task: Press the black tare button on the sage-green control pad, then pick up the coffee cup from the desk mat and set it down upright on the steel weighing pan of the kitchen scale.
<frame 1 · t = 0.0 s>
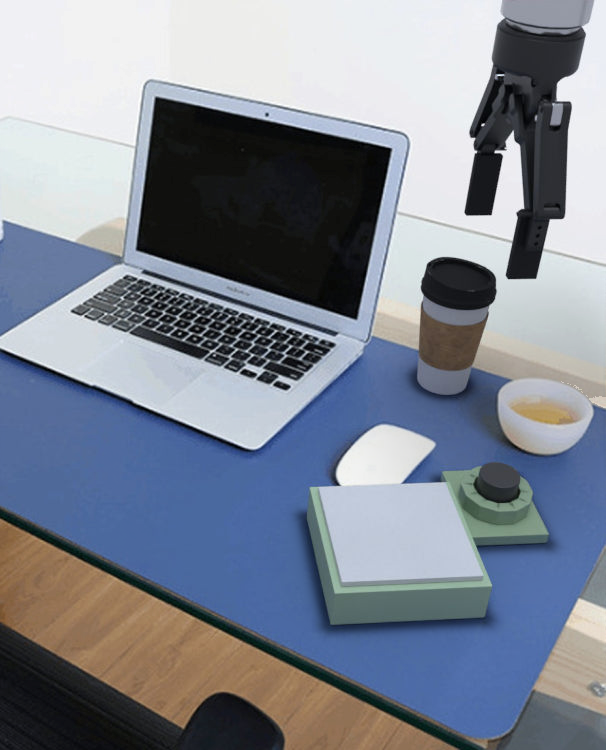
hand: (498, 244, 98), 24 cm above the table, tool pointing down, fingers open, 13 cm apart
coffee cup: (441, 382, 121), on the table
scale: (390, 564, 95), on the table
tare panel: (491, 510, 102), on the table
tare button: (498, 482, 100), point 4 cm above the table, slide at 0.2 cm
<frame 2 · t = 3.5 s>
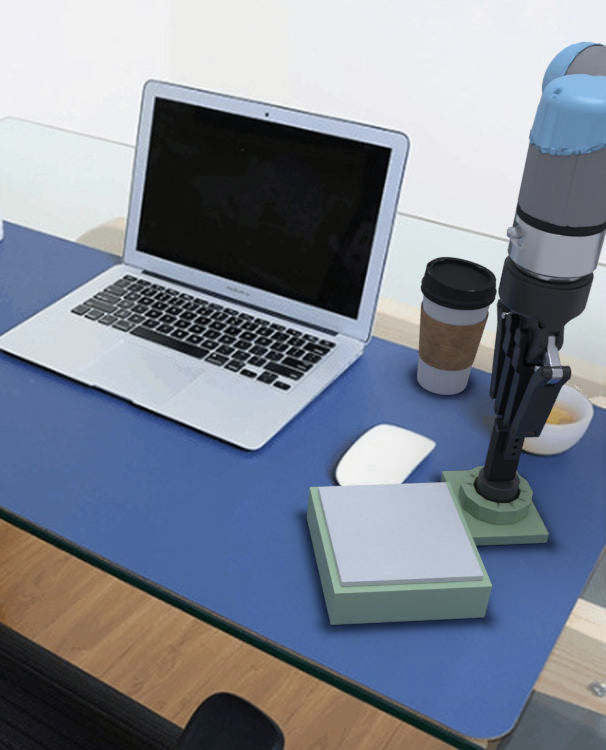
hand: (498, 474, 99), 5 cm above the table, tool pointing down, fingers closed
tare button: (497, 484, 100), point 3 cm above the table, slide at -0.2 cm, touching gripper
everything else where it was.
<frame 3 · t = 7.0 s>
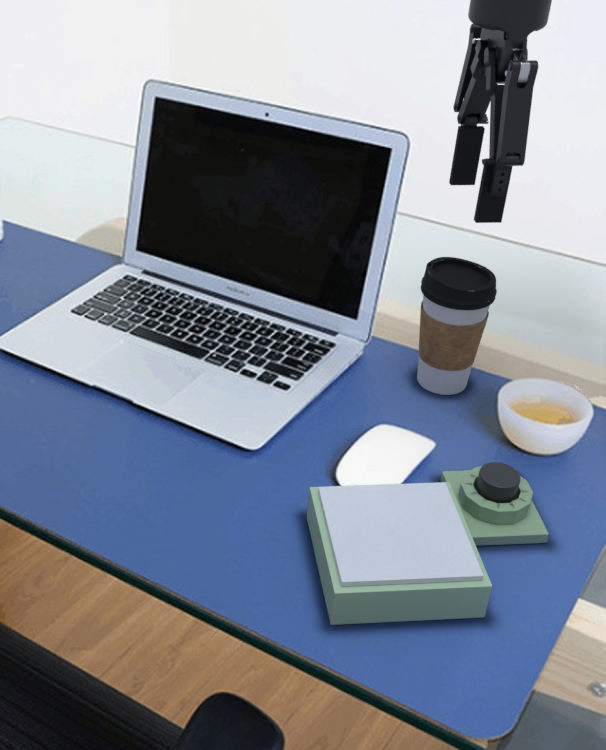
hand: (474, 201, 107), 23 cm above the table, tool pointing down, fingers open, 9 cm apart
tare button: (498, 482, 100), point 4 cm above the table, slide at 0.2 cm
everything else where it was.
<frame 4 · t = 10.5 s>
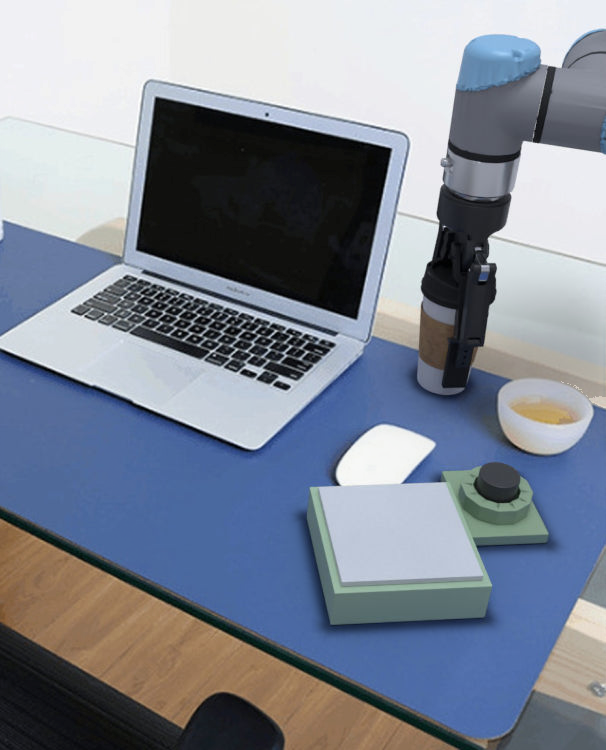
hand: (444, 366, 119), 2 cm above the table, tool pointing down, fingers closed on coffee cup, 8 cm apart
coffee cup: (441, 382, 121), on the table, touching gripper
everything else where it was.
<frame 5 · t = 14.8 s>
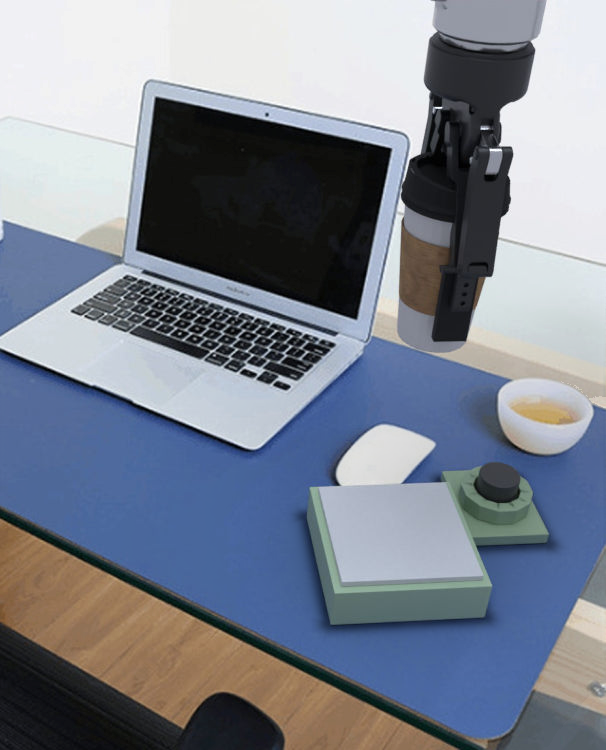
hand: (435, 312, 84), 25 cm above the table, tool pointing down, fingers closed on coffee cup, 8 cm apart
coffee cup: (431, 336, 85), point 23 cm above the table, touching gripper
everything else where it was.
when the fingers open (7 cm above the table, at t = 19.6 s): coffee cup stays where it is, resting on scale.
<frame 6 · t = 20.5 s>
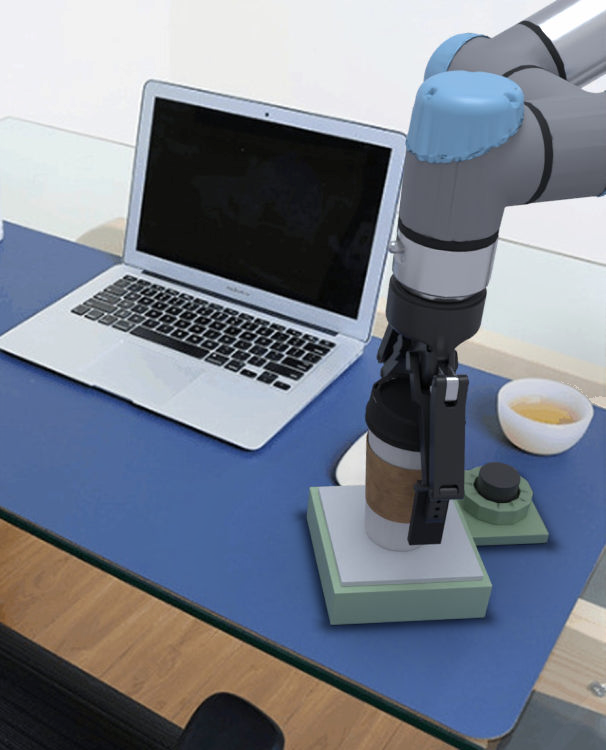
hand: (405, 488, 90), 9 cm above the table, tool pointing down, fingers open, 13 cm apart
coffee cup: (396, 530, 92), point 4 cm above the table, touching scale
everything else where it was.
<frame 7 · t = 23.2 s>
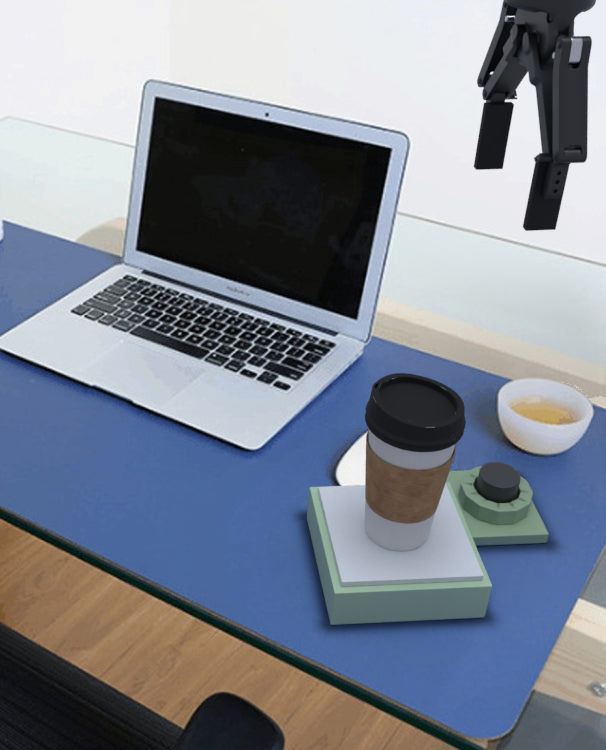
hand: (511, 196, 94), 30 cm above the table, tool pointing down, fingers open, 13 cm apart
nothing on the table moved.
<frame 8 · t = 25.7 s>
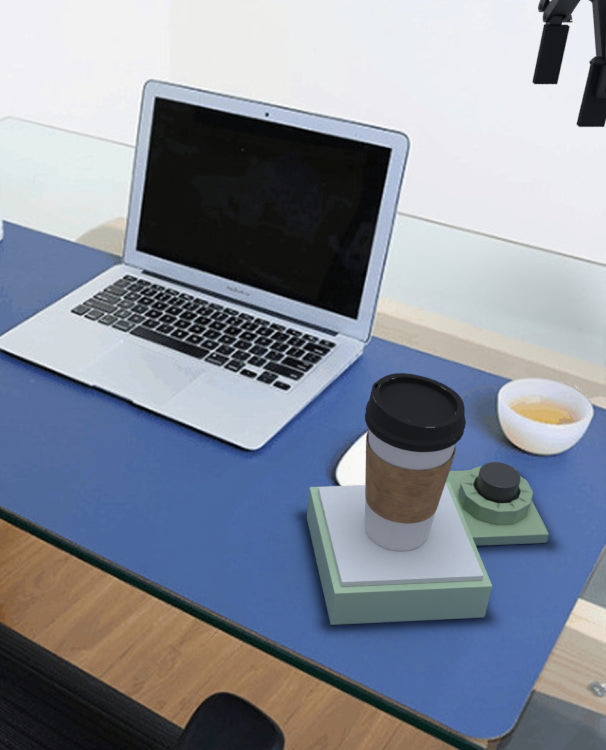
hand: (566, 103, 110), 32 cm above the table, tool pointing down, fingers open, 13 cm apart
nothing on the table moved.
at the end: tare button pushed in 1.2 cm at the most during the clip, back to 0.2 cm at the end; tare button slide at 0.2 cm; coffee cup inside the target area on the scale (0.1 cm from its centre), point 4.4 cm above the scale's base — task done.
